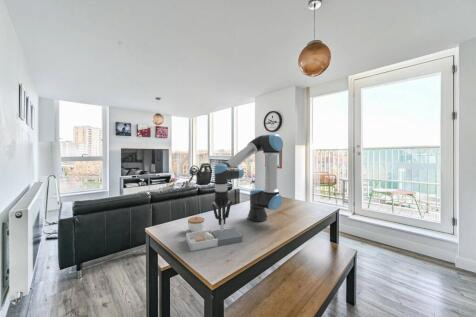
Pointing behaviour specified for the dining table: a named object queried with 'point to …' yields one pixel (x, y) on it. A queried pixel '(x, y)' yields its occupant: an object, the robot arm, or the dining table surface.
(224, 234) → the board
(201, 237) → the tile
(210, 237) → the tile
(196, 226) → the lidded jar
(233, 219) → the dining table surface
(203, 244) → the tray
